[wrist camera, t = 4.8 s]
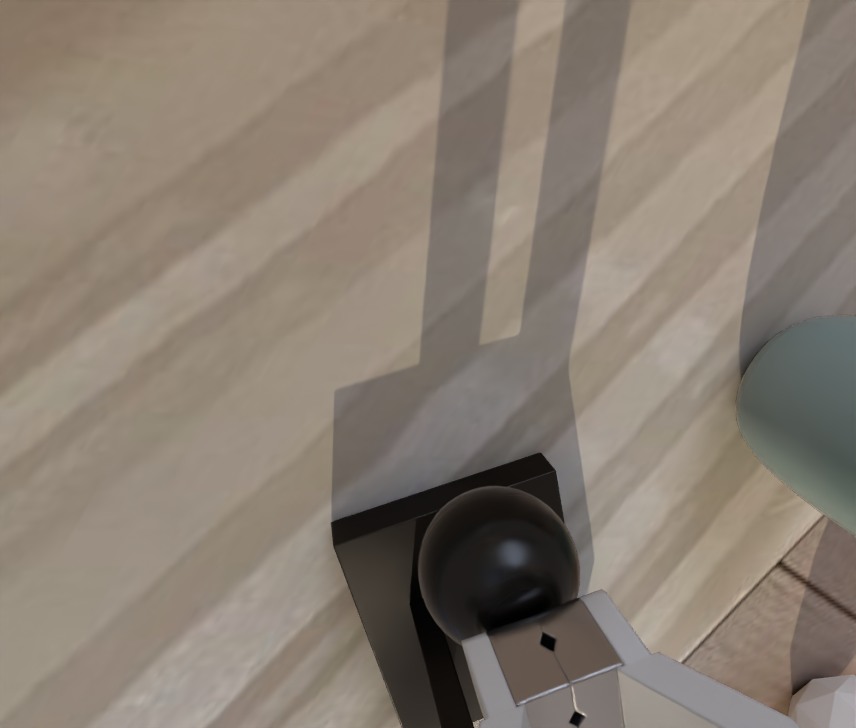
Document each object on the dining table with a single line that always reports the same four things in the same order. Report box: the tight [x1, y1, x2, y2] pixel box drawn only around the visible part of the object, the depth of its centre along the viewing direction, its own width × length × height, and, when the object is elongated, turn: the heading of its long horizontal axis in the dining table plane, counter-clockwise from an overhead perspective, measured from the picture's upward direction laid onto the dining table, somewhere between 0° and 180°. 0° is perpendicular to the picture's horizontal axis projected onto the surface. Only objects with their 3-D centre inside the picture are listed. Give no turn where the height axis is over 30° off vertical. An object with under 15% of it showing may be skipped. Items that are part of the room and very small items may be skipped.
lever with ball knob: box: [418, 486, 580, 647], centre depth 14 cm, size 13×4×4 cm, turn 13°
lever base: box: [331, 453, 565, 728], centre depth 20 cm, size 12×9×12 cm
